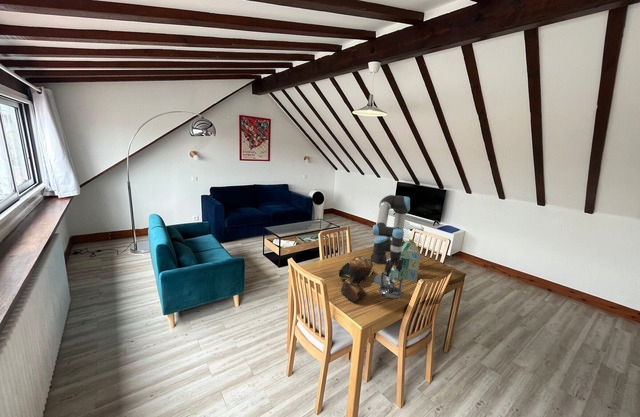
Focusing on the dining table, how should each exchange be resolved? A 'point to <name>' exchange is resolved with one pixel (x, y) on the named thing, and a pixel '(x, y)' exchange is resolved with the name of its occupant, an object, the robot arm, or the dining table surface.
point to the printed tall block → (410, 261)
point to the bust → (356, 278)
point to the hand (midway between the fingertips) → (391, 279)
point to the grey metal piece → (390, 288)
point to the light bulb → (393, 274)
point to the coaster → (379, 279)
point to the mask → (347, 272)
